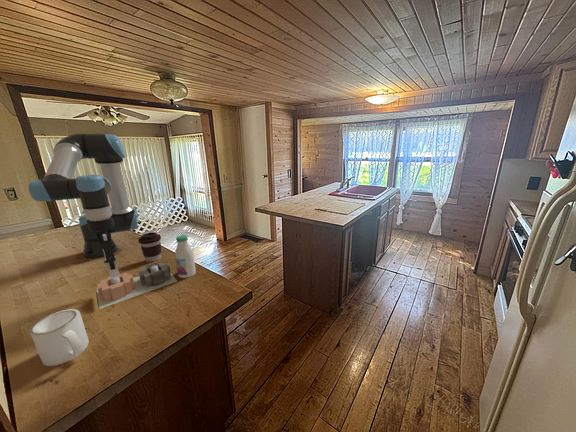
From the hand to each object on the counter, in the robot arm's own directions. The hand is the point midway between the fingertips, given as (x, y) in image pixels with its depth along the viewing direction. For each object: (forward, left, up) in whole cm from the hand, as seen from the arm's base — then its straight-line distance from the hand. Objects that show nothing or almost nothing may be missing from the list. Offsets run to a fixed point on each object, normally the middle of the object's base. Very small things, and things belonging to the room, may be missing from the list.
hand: (112, 268), depth 90 cm
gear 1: (0, 0, -10) cm, 10 cm away
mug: (+23, -15, -12) cm, 30 cm away
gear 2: (0, +14, -10) cm, 17 cm away
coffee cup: (-23, +18, -12) cm, 31 cm away
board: (0, +7, -12) cm, 14 cm away
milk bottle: (+4, +26, -12) cm, 29 cm away
